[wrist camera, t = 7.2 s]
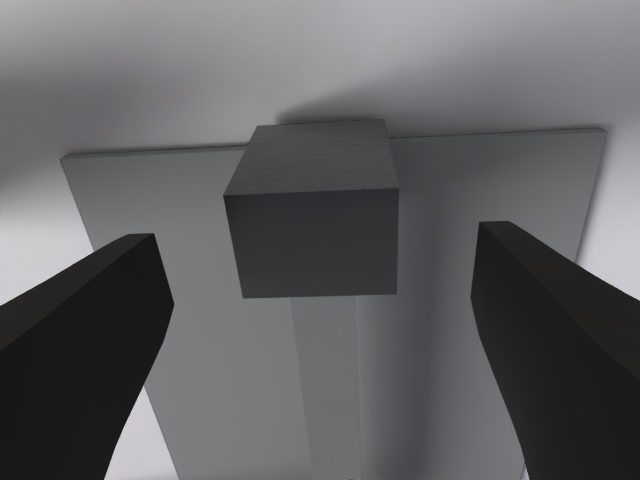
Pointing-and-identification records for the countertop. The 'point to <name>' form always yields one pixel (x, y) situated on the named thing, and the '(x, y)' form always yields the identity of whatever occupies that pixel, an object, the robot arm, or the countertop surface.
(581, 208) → the mat
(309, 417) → the hook rod
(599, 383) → the robot arm
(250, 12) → the countertop surface
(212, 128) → the countertop surface
